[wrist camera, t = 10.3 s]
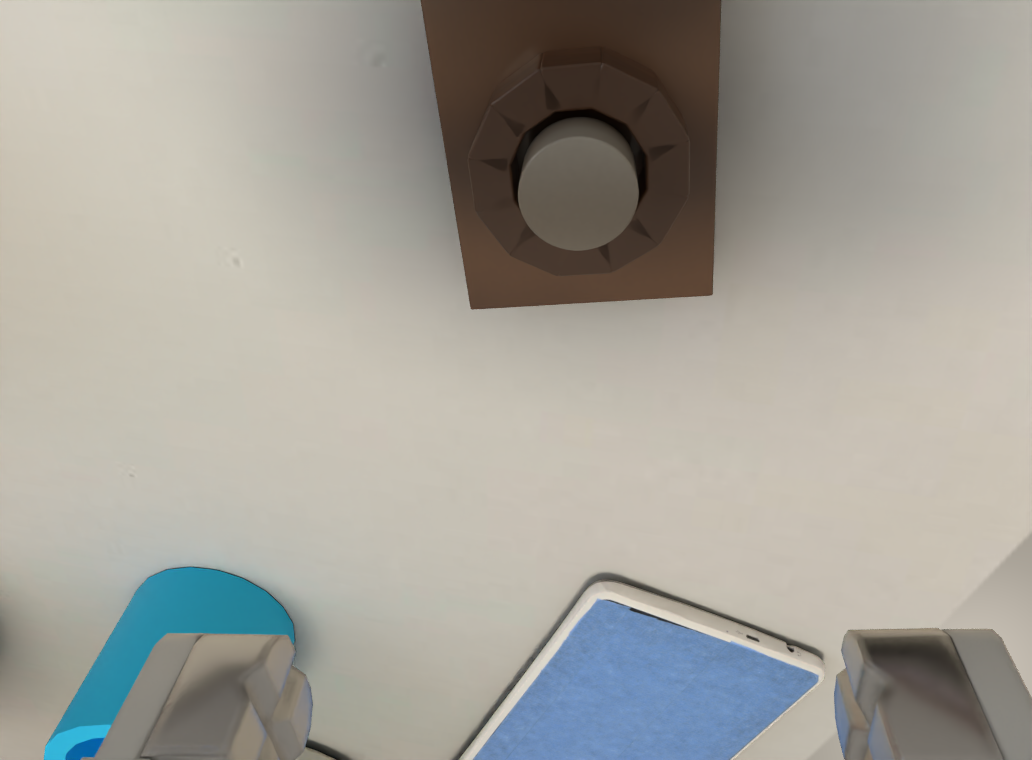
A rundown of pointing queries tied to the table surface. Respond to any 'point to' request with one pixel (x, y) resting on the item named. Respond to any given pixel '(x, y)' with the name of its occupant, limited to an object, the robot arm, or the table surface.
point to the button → (578, 184)
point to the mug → (148, 618)
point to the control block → (579, 93)
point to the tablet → (646, 685)
